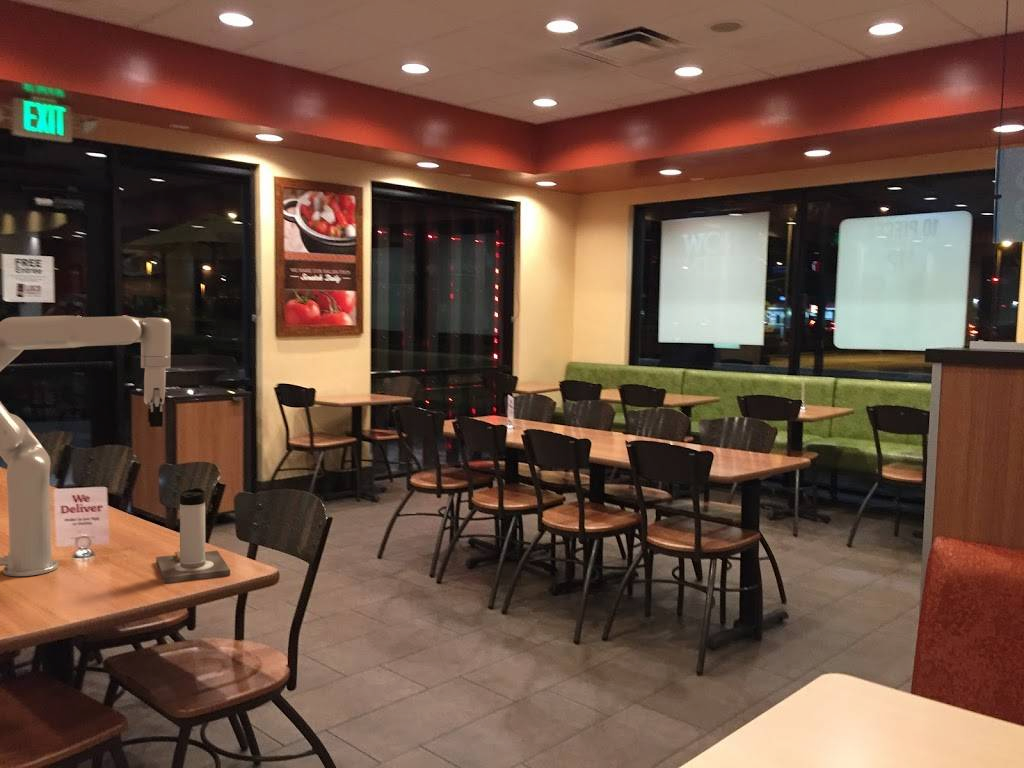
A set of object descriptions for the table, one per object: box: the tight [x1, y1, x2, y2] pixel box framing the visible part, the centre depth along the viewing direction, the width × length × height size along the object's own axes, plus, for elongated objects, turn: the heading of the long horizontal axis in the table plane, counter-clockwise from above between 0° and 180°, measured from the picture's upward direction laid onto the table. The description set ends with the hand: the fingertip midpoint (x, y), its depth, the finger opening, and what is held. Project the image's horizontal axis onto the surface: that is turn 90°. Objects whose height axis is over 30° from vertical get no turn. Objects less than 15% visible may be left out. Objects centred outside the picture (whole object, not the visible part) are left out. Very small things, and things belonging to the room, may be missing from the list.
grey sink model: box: [155, 550, 231, 584], centre depth 225 cm, size 16×20×6 cm
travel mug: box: [179, 487, 206, 568], centre depth 222 cm, size 6×7×20 cm
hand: (155, 424), depth 232 cm, fingers open, 9 cm apart
